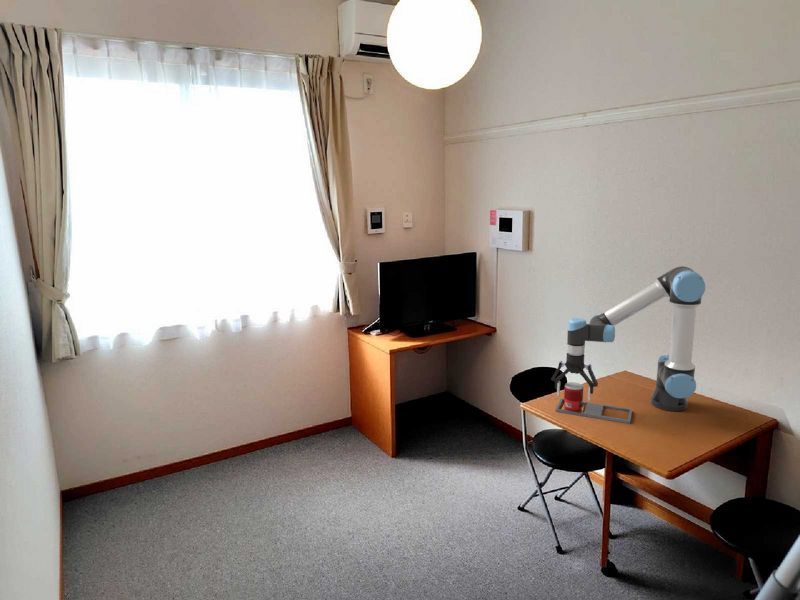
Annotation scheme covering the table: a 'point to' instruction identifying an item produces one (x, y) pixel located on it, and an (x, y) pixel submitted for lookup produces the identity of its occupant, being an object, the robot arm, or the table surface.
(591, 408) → the rail frame
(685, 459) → the table surface
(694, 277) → the robot arm
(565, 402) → the canned food
